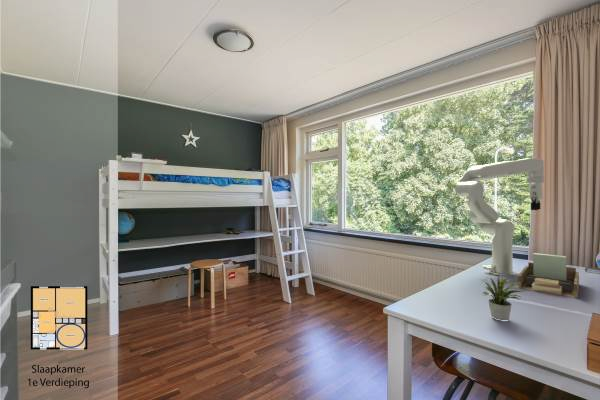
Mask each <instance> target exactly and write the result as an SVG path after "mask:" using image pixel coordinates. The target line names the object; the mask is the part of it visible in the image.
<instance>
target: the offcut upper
mask: <svg viewBox="0 0 600 400" xmlns="http://www.w3.org/2000/svg"><path fill="white" fill-rule="evenodd" d="M535 285H538V286H545V287H551V288H557V289H558V288H559V281H557V280H550V279H543V278H535Z"/></svg>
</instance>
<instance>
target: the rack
mask: <svg viewBox="0 0 600 400" xmlns="http://www.w3.org/2000/svg"><path fill="white" fill-rule="evenodd" d="M535 278H543V279H550V280H557V281H559V286H562V295H558V294H552V293H548V294H549V295H556V296H560V297H561V296H562V297H567V298H571V299H572V298H573V299H578V297H579V296H578V295H579V288H580V272H579V271H577V268H576V267H571V266H566V280H560V279H553V278H546V277H539V276H534V268H533V262H530V261H528V264H527V265H525V267H524V268H523V269H522V270H521V271H520V273H519V274H518V275H517V282H520V283H517V286H519V287H517V288H518V289H521V290H526V291H533V292H538V293H541V292H540V291H535V290H532V284H533V282H535ZM542 293H543V294H547V293H546V292H542Z"/></svg>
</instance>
